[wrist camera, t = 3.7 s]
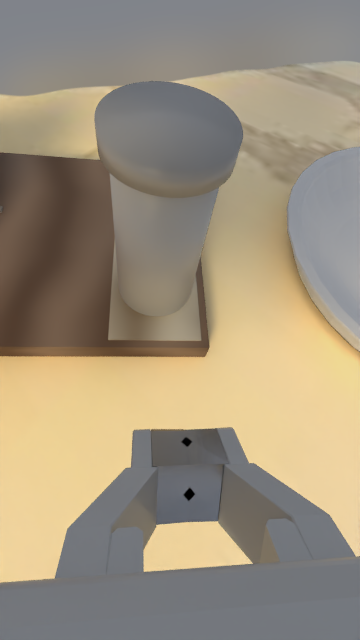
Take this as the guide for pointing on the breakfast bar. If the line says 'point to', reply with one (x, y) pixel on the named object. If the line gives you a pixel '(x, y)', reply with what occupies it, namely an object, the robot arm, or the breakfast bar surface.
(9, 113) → the breakfast bar surface
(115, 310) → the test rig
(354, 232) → the pan
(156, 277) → the grey plug
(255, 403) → the breakfast bar surface
